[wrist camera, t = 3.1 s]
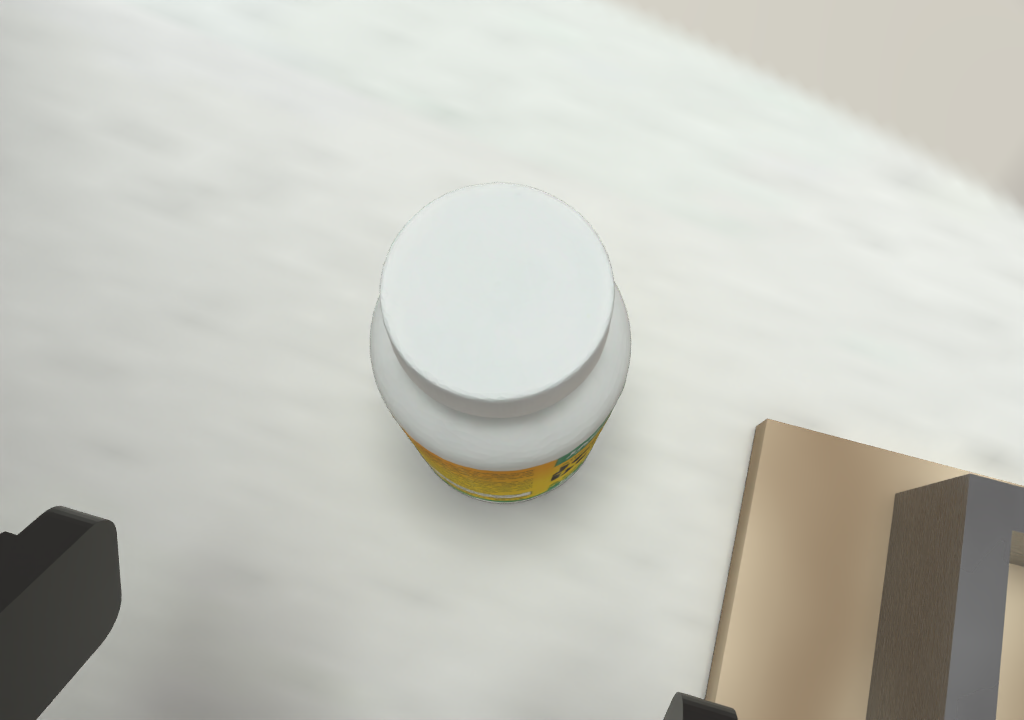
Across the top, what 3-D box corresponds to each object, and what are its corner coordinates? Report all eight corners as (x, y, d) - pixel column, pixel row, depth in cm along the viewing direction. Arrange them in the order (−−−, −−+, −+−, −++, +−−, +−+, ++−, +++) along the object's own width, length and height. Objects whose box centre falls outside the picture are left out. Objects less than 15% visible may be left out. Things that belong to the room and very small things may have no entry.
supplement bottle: (448, 301, 23) (404, 107, 14) (621, 354, 23) (693, 189, 13) (384, 472, 22) (287, 381, 12) (567, 533, 21) (607, 485, 12)
